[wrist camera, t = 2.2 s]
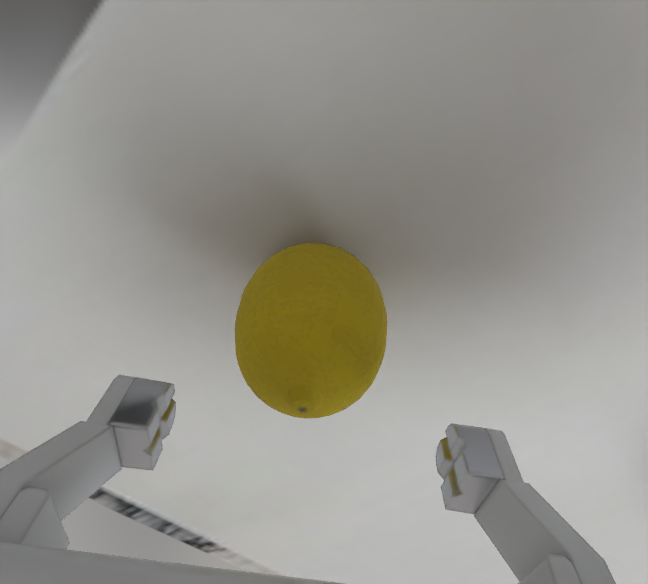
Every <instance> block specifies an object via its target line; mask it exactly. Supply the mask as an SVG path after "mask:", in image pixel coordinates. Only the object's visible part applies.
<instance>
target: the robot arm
mask: <svg viewBox="0 0 648 584" xmlns="http://www.w3.org/2000/svg"><path fill="white" fill-rule="evenodd" d="M174 393H175V389H174V384H172V383H166V382H161V381H155V380H149V379H143V378H137V377H131V376H124V375H119V376H117V377H116V378H115V379H114V380H113V382H112V383H111V385H110V386H109V388H108V389H107V391H106V392H105V394H104V395H103V397H102V398H101V400H100V401H99V403H98V404H97V406H96V407H95V409H94V410H93V412H92V413H91V415H90V417H89V418H88V420H87V421H86V422H83V421H80V422H78V423H77V424H75V425H73V426H72V427H70V428H68V429H67V430H65V431H63V432H62V433H60V434H58V435H57V436H55V437H53V438H51V439H50V440H48V441H46V442H45V443H43V444H41V445H40V446H38V447H36V448H35V449H33V450H31V451H30V452H28V453H26V454H25V455H23V456H21V457H20V458H18V459H16V460H15V461H13V462H11V463H10V464H8V465H6V466H5V467H3V468H1V469H0V584H344V583H336V582H328V581H320V580H312V579H303V578H295V577H287V576H279V575H271V574H263V573H254V572H246V571H238V570H230V569H221V568H213V567H204V566H196V565H189V564H180V563H172V562H163V561H156V560H148V559H139V558H131V557H123V556H115V555H106V554H98V553H90V552H81V551H74V550H66V549H67V547H68V545H69V540H68V537H67V534H66V532H65V530H64V527H63V525H62V523H61V521H62V520H63V519H64V518H65V517H66V516H67V515H69V514H70V513H71V512H72V511H73V510H74V509H76V508H77V507H78V506H79V505H80V504H81V503H82V502H84V501H85V500H86V499H87V498H88V497H90V496H91V495H92V494H93V493H94V492H95V491H97V490H98V489H99V488H100V487H101V486H102V485H104V484H105V483H106V482H107V481H108V480H109V479H111V478H112V477H113V476H114V475H115V474H116V473H118V472H119V471H120V470H121V469H122V468H121V467H126V468H136V469H145V470H154V467H155V465H156V463H157V460H158V458H159V456H160V454H161V451H162V449H163V448H162V439H164V438H165V437H166V436H168V435H169V433H170V430H171V428H172V425H173V421H174V418H175V411H176V402H175V401H174V400H173V399H172V397H173V395H174ZM446 435H447V437H446V438H444V439H442V440H440V442H439V445H438V447H437V452H436V465H437V471H438V473H439V474H440V475H441V477H442V478H443V479H444V482H443V484H442V486H441V490H442V495H443V500H444V504H445V509H446V510H452V511H458V512H464V513H470V514H475V515H474V517H475V518H476V519H477V521H478V522H479V524H480V525H481V527H482V528H483V530H484V531H485V532H486V534H487V535H488V537H489V538H490V540H491V541H492V542H493V544H494V545H495V547H496V548H497V550H498V551H499V553H500V554H501V555H502V557H503V558H504V560H505V561H506V563H507V564H508V565H509V567H510V568H511V570H512V571H513V573H514V574H515V576H516V577H517V578H518V580H519V581H520V582H519V583H518V584H616V583H615V581H614V579H613V577H612V575H611V573H610V571H609V569H608V567H607V564H606V562H605V560H604V559H603V558H602V557H601V556H600V555H599V554H598V553H597V552H596V551H595V550H594V549H593V548H592V547H591V546H590V545H589V544H588V543H587V542H586V541H585V540H584V539H583V538H582V537H581V536H580V535H579V534H578V533H577V532H576V531H575V530H574V529H573V528H572V527H571V526H570V525H569V524H568V523H567V522H566V521H565V520H564V519H563V518H562V517H561V516H560V515H559V514H558V512H557V511H556V510H555V509H554V508H553V507H552V506H551V505H550V504H549V503H548V502H547V501H546V500H545V499H544V498H543V497H542V496H541V495H540V494H539V493H538V492H537V491H536V490H535V489H534V488H533V487H532V486H531V485H530V484H529V483H524V482H523V479H522V477H521V474H520V472H519V469H518V466H517V464H516V461H515V459H514V456H513V454H512V451H511V449H510V446H509V444H508V441H507V439H506V436H505V434H504V433H503V432H502V431H500V430H493V429H486V428H482V427H474V426H467V425H459V424H450V425H449V426H448V427H447V429H446Z"/></svg>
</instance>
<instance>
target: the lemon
mask: <svg viewBox="0 0 648 584" xmlns="http://www.w3.org/2000/svg"><path fill="white" fill-rule="evenodd" d="M386 334H387V314H386V309H385V305H384V301H383V297H382V294H381V291H380V288H379V286H378V284H377V283H376V281H375V279H374V278H373V276H372V274H371V273H370V271H369V270H368V268H367V267H366V266H365V265H364V264H362V263H361V262H360V261H359V260H358V259H357V258H356V257H355V256H354V255H352V254H350V253H348V252H346V251H345V250H343V249H341V248H339V247H335V246H331V245H328V244H324V243H304V244H299V245H294V246H291V247H289V248H286V249H284V250H282V251H280V252H278V253H276V254H274V255H273V256H272V257H271V258H269V259H268V260H267V261H266V262H264V263H263V264H262V265H261V266H260V267H259V268H258V270H257V271H256V272H255V274H254V275H253V277H252V278H251V280H250V281H249V283H248V284H247V286H246V288H245V290H244V292H243V295H242V298H241V302H240V305H239V308H238V312H237V316H236V322H235V343H236V356H237V361H238V364H239V367H240V370H241V372H242V375H243V377H244V379H245V381H246V383H247V384H248V386H249V387H250V388H251V389H252V391H253V392H254V393H255V394H256V396H257V397H258V398H259V399H261V400H262V401H263V402H264V403H266V404H267V405H268V406H270V407H271V408H273V409H275V410H277V411H279V412H281V413H283V414H287V415H290V416H293V417H300V418H319V417H324V416H329V415H332V414H334V413H337V412H339V411H342V410H344V409H346V408H347V407H349V406H350V405H351V404H353V403H354V402H356V401H357V400H358V399H360V398H361V396H362V395H363V394H364V393H365V392H366V390H367V389H368V388H369V387H370V386H371V384H372V383H373V381H374V379H375V377H376V375H377V372H378V370H379V368H380V365H381V363H382V360H383V356H384V352H385V346H386Z"/></svg>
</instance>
